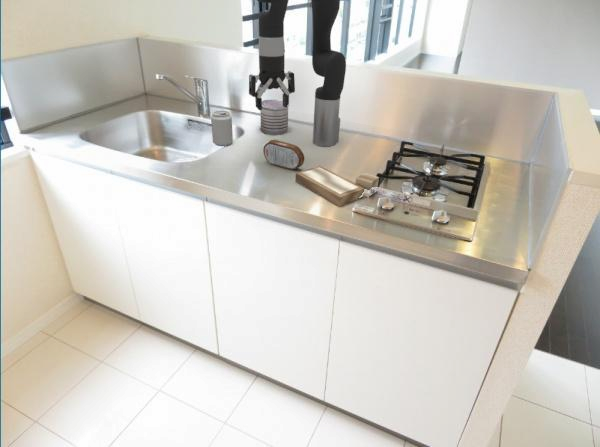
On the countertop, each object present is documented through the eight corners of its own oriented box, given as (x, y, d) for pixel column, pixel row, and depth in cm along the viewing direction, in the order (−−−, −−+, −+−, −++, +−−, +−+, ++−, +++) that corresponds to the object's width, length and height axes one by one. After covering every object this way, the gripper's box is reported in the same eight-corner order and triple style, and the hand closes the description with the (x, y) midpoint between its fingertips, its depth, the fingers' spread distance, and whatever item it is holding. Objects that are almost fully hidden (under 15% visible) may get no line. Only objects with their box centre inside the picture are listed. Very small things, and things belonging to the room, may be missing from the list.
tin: (304, 170, 139) (305, 146, 135) (299, 173, 137) (300, 149, 133) (267, 160, 146) (267, 136, 141) (262, 162, 143) (261, 139, 139)
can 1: (228, 148, 154) (227, 116, 148) (209, 145, 155) (207, 114, 149) (235, 141, 160) (234, 110, 154) (217, 139, 161) (215, 108, 155)
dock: (319, 174, 137) (319, 165, 135) (363, 197, 124) (364, 187, 122) (295, 181, 131) (295, 172, 130) (339, 206, 118) (339, 196, 116)
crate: (362, 187, 130) (364, 172, 127) (376, 192, 127) (379, 177, 125) (354, 193, 126) (356, 177, 124) (368, 197, 124) (371, 182, 121)
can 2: (280, 126, 178) (280, 98, 171) (293, 134, 169) (294, 105, 163) (255, 130, 172) (255, 100, 166) (268, 138, 164) (267, 108, 158)
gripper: (288, 49, 127) (288, 102, 136) (244, 52, 122) (246, 107, 130) (299, 53, 121) (298, 109, 130) (253, 56, 116) (255, 114, 125)
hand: (272, 108), depth 130 cm, fingers open, 8 cm apart
